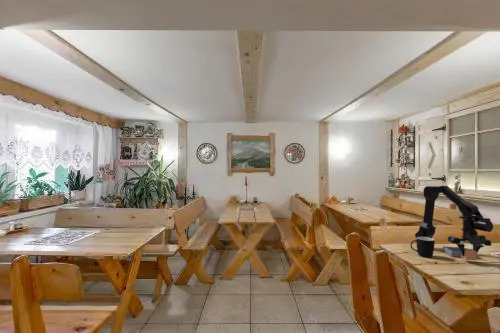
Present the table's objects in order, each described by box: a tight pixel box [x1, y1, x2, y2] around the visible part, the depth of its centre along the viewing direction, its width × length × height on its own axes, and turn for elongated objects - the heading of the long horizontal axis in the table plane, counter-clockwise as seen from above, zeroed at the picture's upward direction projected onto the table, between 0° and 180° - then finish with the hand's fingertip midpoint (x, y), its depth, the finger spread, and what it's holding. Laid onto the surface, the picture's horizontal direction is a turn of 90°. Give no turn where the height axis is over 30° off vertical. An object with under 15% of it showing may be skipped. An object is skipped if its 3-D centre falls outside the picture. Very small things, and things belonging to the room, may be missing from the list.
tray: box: [442, 246, 478, 260], centre depth 175 cm, size 13×12×3 cm
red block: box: [461, 247, 478, 261], centre depth 162 cm, size 5×5×5 cm
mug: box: [410, 237, 436, 259], centre depth 172 cm, size 12×9×10 cm
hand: (468, 256), depth 162 cm, fingers closed on red block, 5 cm apart
